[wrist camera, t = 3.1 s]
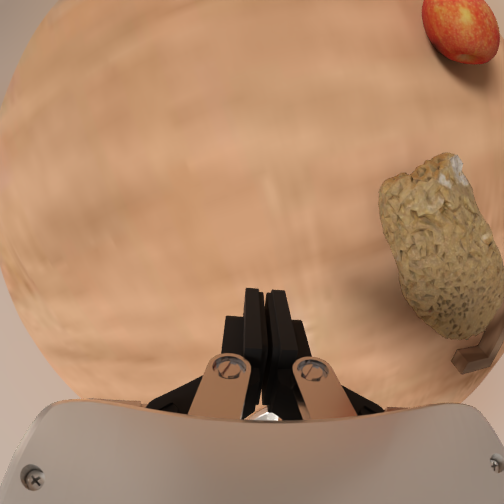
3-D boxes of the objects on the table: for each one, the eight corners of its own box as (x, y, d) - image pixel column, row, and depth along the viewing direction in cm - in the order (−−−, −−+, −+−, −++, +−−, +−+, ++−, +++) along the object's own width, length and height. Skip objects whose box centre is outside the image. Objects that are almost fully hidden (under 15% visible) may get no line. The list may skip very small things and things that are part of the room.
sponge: (345, 197, 23) (412, 369, 25) (392, 183, 15) (454, 400, 17) (435, 149, 23) (484, 303, 25) (485, 130, 16) (527, 316, 17)
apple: (466, 29, 15) (510, 12, 7) (465, 86, 17) (519, 77, 10) (408, -9, 14) (447, -40, 7) (404, 47, 17) (454, 19, 9)
